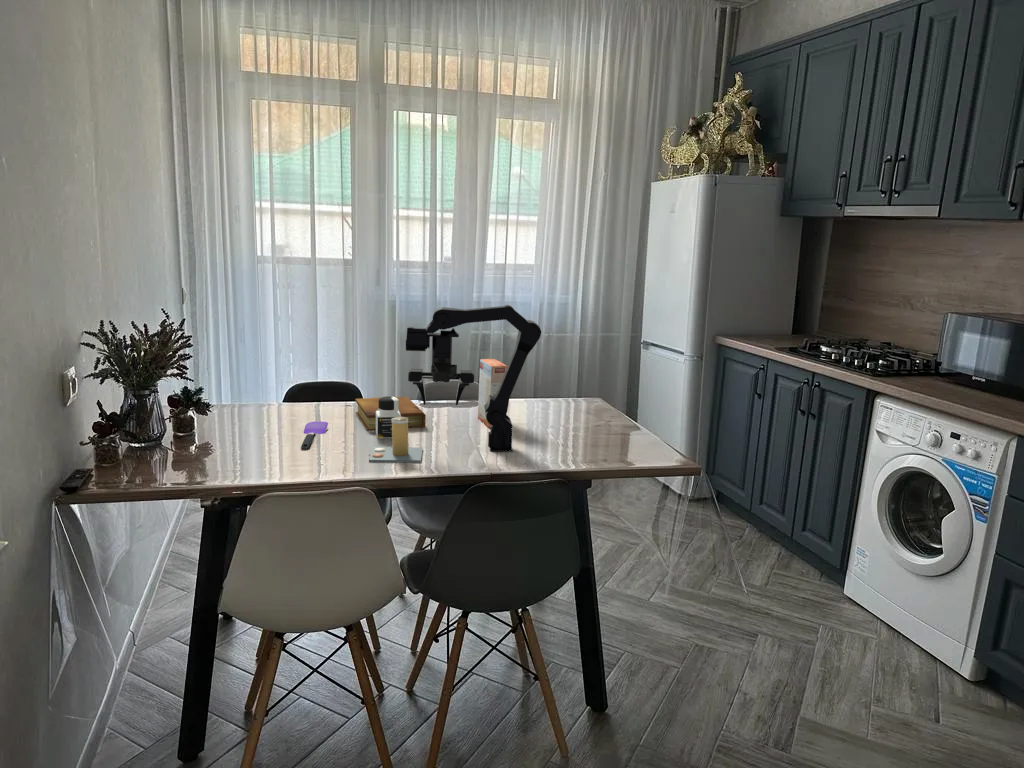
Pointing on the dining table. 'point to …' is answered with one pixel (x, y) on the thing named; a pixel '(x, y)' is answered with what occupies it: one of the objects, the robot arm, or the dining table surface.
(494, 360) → the cracker box
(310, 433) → the spatula
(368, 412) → the diary
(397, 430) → the amber cup
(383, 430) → the medicine bottle
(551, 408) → the dining table surface
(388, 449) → the card
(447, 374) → the robot arm
